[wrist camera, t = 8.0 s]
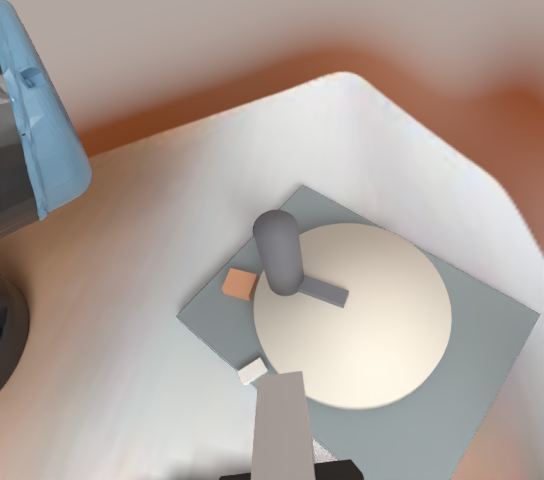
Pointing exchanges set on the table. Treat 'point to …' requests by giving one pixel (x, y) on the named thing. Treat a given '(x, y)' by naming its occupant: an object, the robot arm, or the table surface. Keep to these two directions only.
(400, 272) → the dial
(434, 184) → the table surface
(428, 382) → the dial board
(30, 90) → the robot arm
